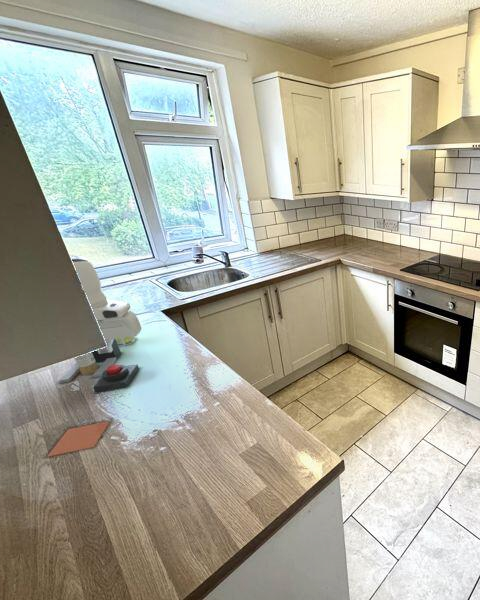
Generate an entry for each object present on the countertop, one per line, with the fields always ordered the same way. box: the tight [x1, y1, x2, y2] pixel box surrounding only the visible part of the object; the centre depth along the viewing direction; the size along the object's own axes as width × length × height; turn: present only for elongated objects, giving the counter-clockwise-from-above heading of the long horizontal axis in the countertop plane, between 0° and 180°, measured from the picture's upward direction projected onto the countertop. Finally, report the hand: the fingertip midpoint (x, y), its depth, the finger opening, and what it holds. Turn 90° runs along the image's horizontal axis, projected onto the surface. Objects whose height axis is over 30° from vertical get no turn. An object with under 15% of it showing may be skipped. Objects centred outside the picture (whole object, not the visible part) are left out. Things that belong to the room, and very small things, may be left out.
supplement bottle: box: [116, 336, 136, 347], centre depth 123 cm, size 6×6×10 cm
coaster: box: [46, 420, 111, 458], centre depth 82 cm, size 9×9×1 cm
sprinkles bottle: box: [73, 352, 100, 376], centre depth 105 cm, size 5×5×14 cm
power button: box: [107, 363, 121, 375], centre depth 102 cm, size 3×3×2 cm
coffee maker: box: [58, 339, 122, 384], centre depth 105 cm, size 11×14×21 cm
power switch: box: [93, 363, 140, 393], centre depth 103 cm, size 8×10×4 cm
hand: (106, 352), depth 99 cm, fingers closed
